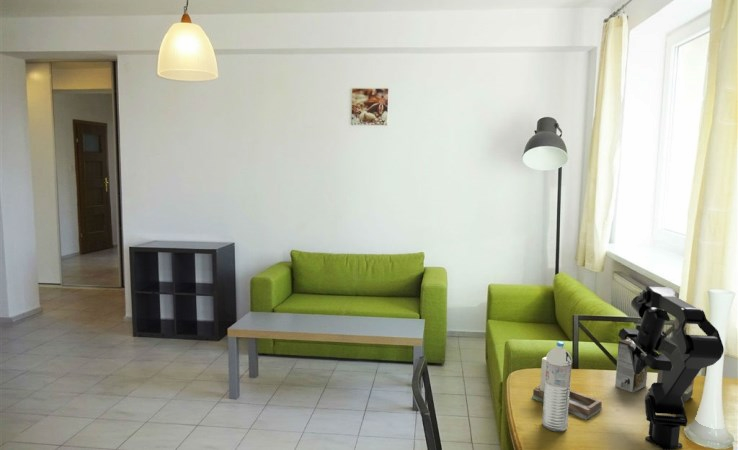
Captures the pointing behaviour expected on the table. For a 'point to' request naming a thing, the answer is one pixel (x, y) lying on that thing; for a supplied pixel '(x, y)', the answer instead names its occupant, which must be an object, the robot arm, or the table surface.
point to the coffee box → (628, 370)
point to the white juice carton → (543, 374)
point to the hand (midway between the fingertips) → (636, 373)
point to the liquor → (674, 358)
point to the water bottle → (557, 389)
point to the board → (576, 403)
